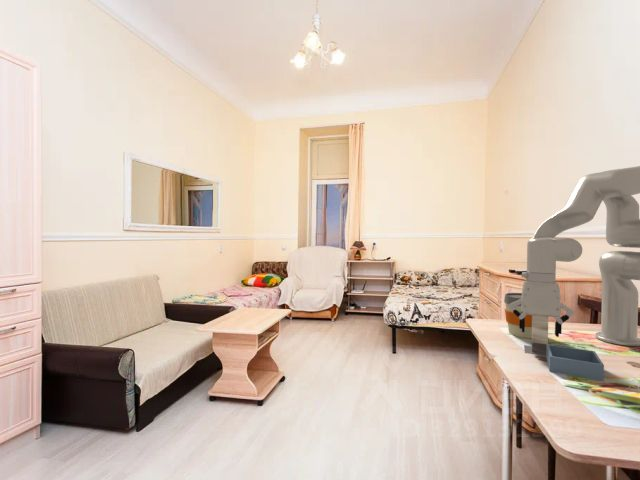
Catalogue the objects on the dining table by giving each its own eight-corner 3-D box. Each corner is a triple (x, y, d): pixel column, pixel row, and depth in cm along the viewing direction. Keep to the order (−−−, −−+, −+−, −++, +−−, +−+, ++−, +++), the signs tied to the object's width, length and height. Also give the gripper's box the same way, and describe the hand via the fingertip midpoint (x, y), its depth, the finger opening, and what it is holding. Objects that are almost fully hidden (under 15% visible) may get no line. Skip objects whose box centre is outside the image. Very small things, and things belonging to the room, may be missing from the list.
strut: (531, 348, 107) (532, 310, 107) (546, 350, 105) (547, 312, 105) (532, 351, 103) (532, 313, 103) (547, 354, 101) (548, 315, 101)
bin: (546, 360, 99) (546, 344, 99) (594, 368, 93) (594, 351, 93) (549, 374, 89) (549, 356, 89) (603, 384, 84) (603, 365, 83)
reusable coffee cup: (535, 332, 126) (536, 293, 126) (550, 343, 114) (551, 300, 114) (499, 330, 129) (499, 292, 129) (509, 340, 117) (510, 298, 117)
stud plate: (524, 348, 110) (524, 337, 110) (553, 352, 106) (553, 341, 106) (524, 355, 103) (524, 344, 103) (556, 361, 99) (556, 349, 99)
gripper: (508, 277, 105) (507, 332, 105) (577, 281, 96) (576, 341, 96) (508, 274, 111) (507, 326, 112) (573, 278, 102) (572, 334, 103)
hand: (539, 333), depth 104 cm, fingers open, 8 cm apart
